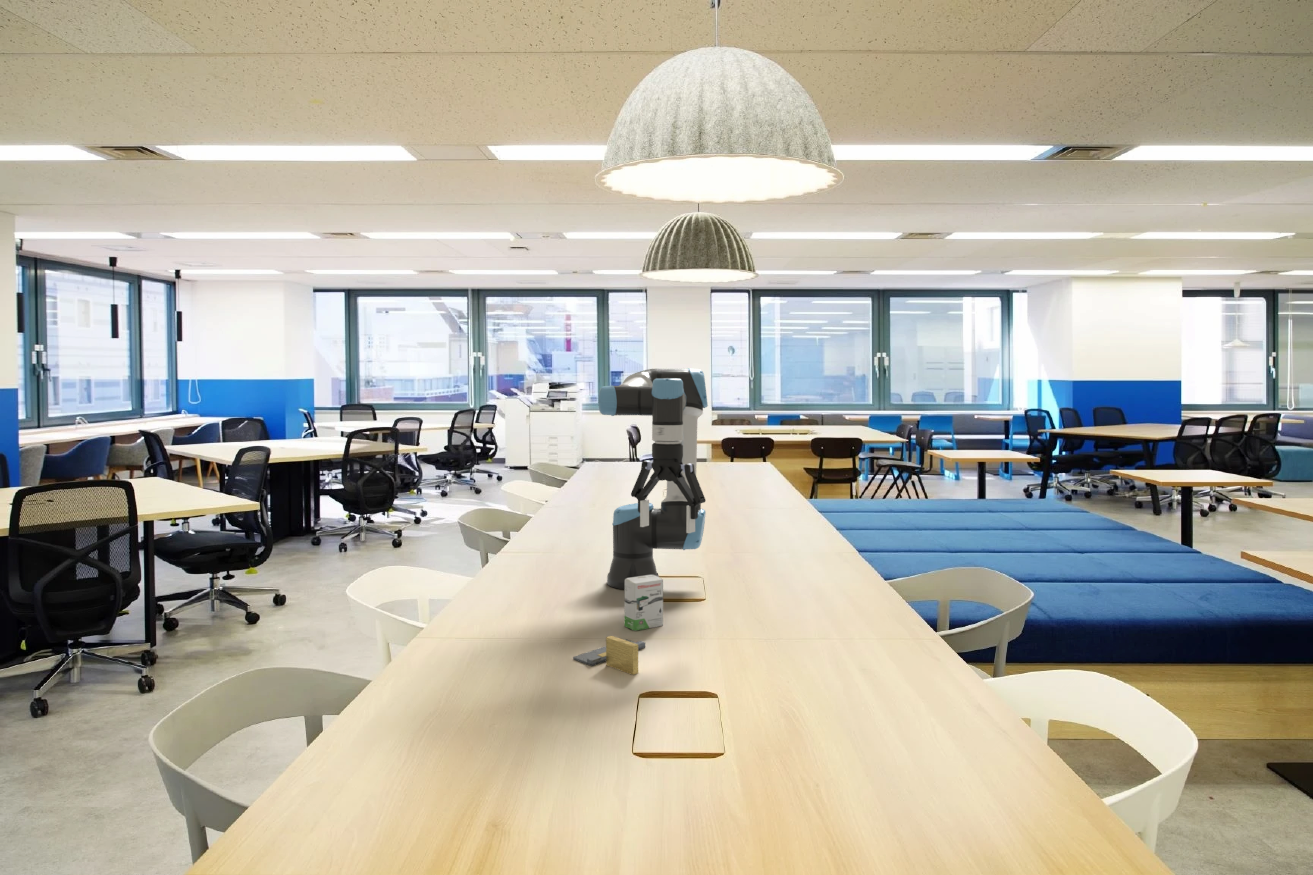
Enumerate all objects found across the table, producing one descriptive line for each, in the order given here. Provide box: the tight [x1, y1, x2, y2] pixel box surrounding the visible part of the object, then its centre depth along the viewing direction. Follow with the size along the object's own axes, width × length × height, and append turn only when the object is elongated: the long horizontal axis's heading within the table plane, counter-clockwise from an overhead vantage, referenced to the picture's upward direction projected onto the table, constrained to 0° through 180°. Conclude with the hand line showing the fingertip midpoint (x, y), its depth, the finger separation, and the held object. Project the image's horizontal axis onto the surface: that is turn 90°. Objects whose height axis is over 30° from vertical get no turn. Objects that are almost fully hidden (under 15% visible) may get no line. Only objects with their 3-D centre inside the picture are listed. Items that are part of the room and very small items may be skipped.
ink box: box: [623, 575, 664, 632], centre depth 195 cm, size 9×5×12 cm, turn 123°
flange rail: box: [572, 635, 646, 676], centre depth 173 cm, size 16×16×6 cm
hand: (667, 529), depth 196 cm, fingers open, 13 cm apart
